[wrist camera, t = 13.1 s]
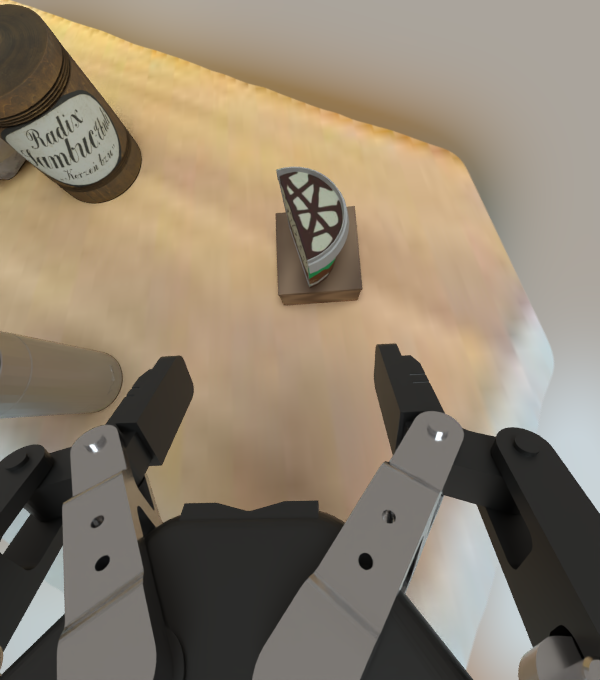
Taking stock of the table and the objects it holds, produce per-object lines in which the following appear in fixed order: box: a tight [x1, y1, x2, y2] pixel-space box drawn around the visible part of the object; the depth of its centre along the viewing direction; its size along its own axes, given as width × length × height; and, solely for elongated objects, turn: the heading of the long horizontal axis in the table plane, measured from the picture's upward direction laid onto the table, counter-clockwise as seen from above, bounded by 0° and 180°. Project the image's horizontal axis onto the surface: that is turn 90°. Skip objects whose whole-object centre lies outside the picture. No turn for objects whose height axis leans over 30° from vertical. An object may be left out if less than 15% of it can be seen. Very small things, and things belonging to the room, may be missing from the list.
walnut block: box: [276, 206, 362, 305], centre depth 43 cm, size 11×12×5 cm
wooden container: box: [0, 4, 141, 203], centre depth 42 cm, size 15×15×22 cm
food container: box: [276, 167, 349, 288], centre depth 36 cm, size 12×6×10 cm, turn 17°
